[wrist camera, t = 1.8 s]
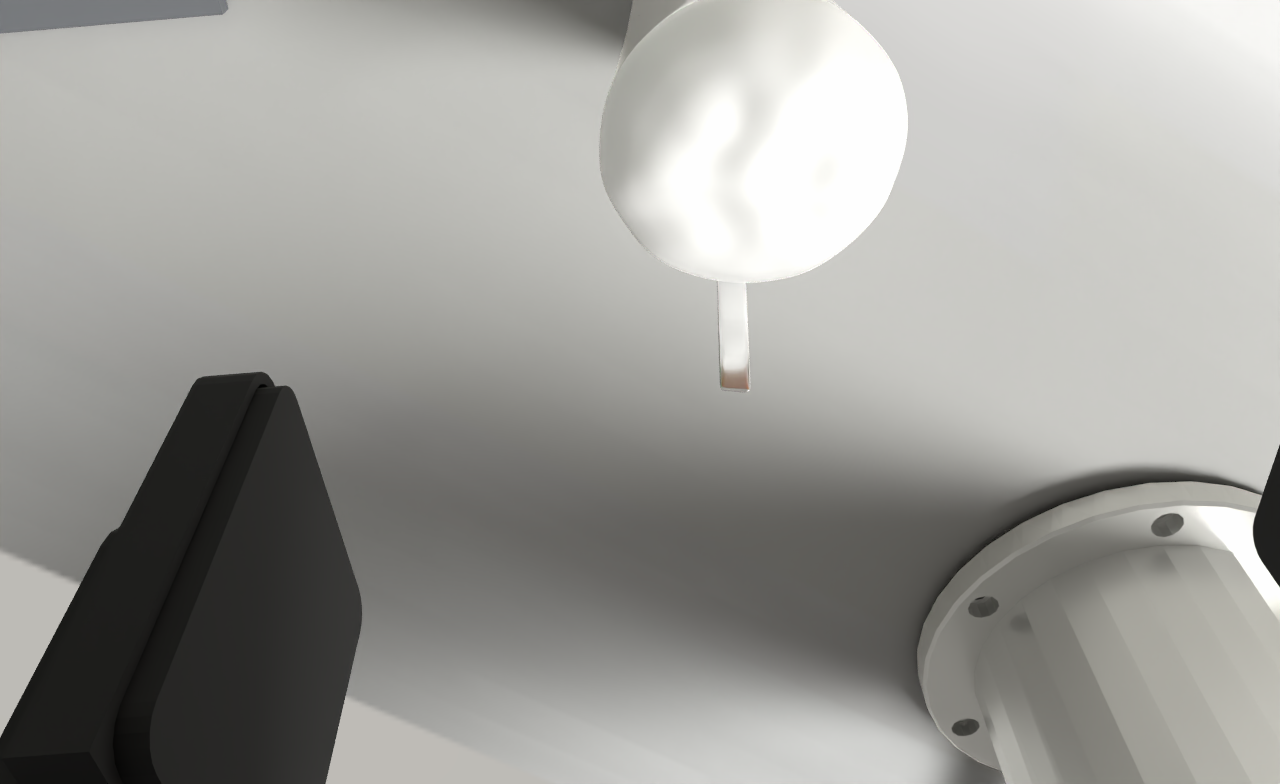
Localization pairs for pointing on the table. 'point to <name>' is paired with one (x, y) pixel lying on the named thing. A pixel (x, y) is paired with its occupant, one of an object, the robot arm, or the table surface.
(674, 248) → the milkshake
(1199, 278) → the table surface
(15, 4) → the mouse pad
